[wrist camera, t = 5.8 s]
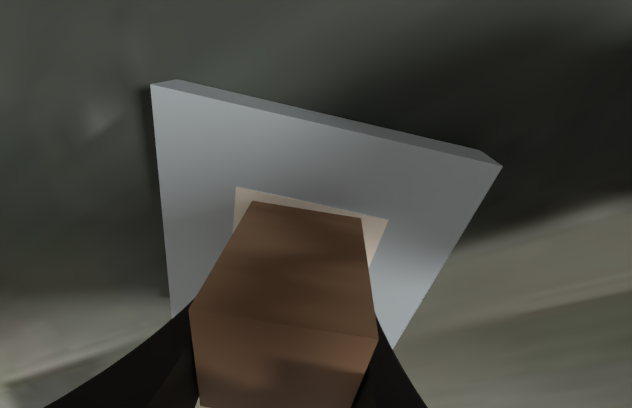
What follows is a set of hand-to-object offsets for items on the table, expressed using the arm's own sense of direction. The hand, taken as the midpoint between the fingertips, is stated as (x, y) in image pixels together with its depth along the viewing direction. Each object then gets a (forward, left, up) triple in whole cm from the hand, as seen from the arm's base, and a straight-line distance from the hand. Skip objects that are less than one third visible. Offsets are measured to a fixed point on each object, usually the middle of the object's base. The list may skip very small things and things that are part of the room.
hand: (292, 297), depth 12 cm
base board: (0, 0, -4) cm, 4 cm away
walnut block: (0, -1, -2) cm, 2 cm away
